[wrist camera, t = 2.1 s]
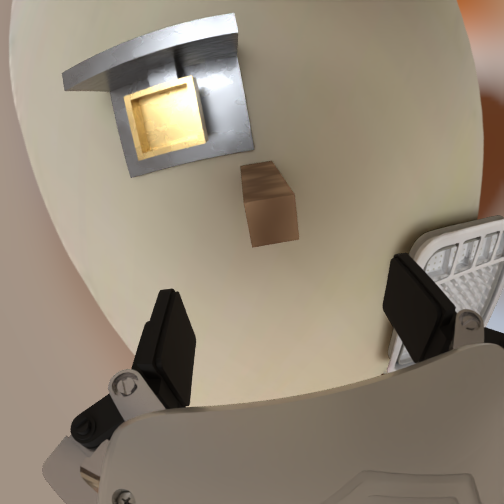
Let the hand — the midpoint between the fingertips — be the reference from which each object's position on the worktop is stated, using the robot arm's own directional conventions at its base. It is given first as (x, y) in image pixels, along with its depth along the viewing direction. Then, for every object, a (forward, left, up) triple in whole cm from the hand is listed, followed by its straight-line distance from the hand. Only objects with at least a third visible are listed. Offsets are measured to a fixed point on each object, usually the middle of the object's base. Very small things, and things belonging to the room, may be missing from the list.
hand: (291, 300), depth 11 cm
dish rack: (-37, +28, -26) cm, 53 cm away
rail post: (0, +1, -25) cm, 25 cm away
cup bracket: (+8, -9, -25) cm, 28 cm away
